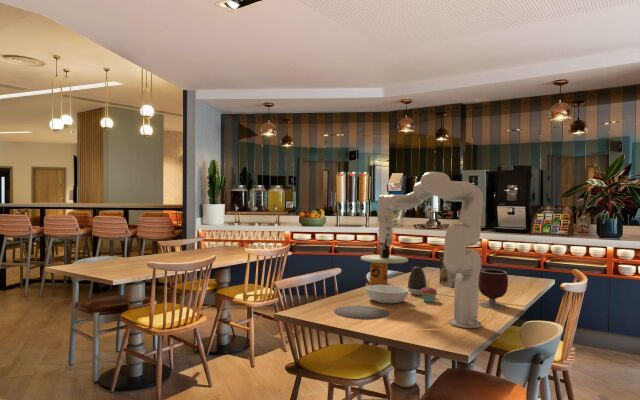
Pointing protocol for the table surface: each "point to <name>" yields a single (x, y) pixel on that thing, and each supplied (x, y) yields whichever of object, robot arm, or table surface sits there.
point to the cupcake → (428, 293)
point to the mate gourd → (492, 286)
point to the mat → (361, 312)
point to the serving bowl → (387, 293)
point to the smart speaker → (416, 281)
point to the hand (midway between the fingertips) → (384, 256)
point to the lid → (383, 260)
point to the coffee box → (446, 275)
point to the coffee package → (378, 272)
